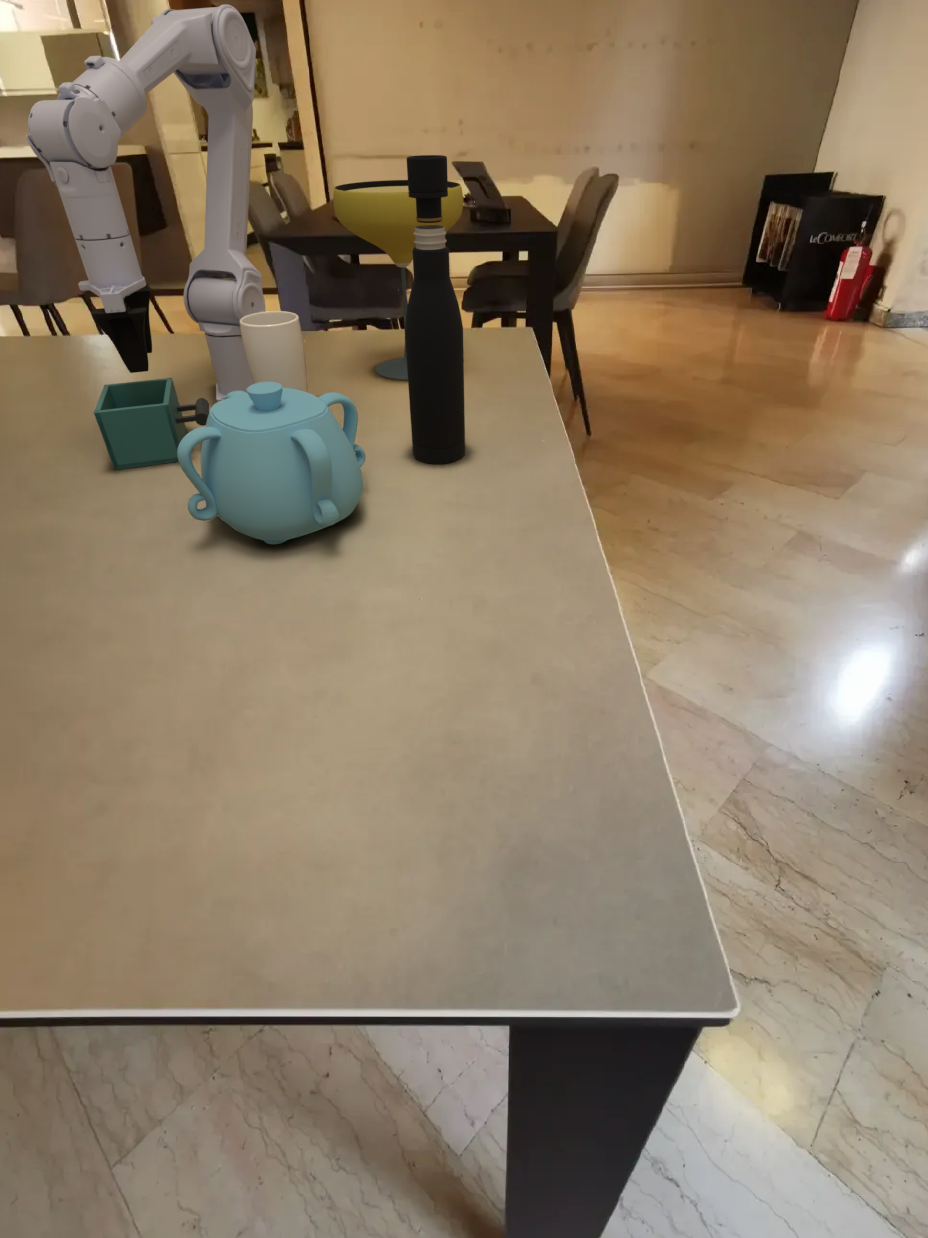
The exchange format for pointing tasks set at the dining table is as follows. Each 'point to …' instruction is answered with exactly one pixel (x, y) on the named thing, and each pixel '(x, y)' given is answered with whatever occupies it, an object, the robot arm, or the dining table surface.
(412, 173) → the black bottle
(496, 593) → the dining table surface
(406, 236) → the cocktail glass
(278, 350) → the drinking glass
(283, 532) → the decorative pot
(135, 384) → the teal bevelled box
